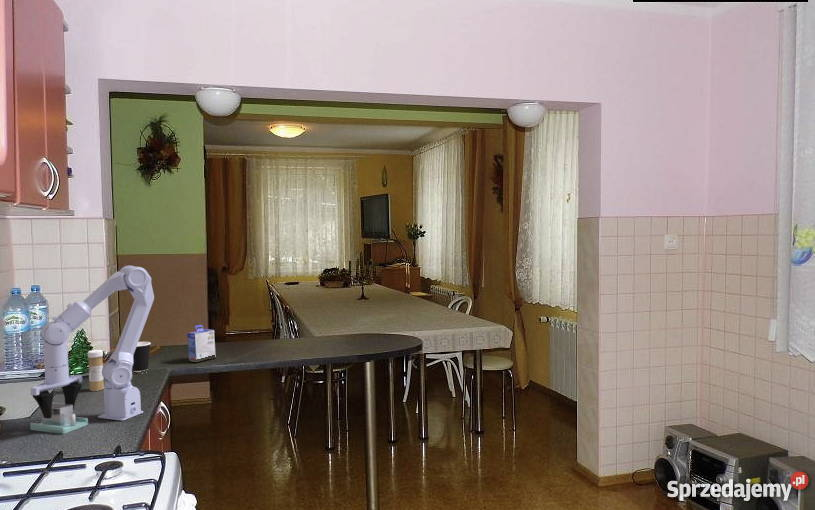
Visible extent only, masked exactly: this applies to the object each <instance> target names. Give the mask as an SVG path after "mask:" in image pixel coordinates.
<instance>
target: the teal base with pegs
mask: <svg viewBox="0 0 815 510" xmlns="http://www.w3.org/2000/svg"><path fill="white" fill-rule="evenodd" d="M70 420H71V424H68V425H65V426H62V427H61V426H53V425H46V424H42V421H40V422H38V423H36V422H30V425H29V426H30V430H32V431H37V432H44V433H51V434H52V433H53V434H60V435H64V434H67V433H70V432H72V431H75V430H77V429H80V428H82V427H86V426H88V425H89V419H88V417H82V416H81V417H79V416H76V413H73V414H71V415H70Z"/></svg>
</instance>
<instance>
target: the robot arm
mask: <svg viewBox="0 0 815 510" xmlns="http://www.w3.org/2000/svg"><path fill="white" fill-rule="evenodd" d="M124 290H128V292H129V293H130V294H131V296H132V298H133V300H134V301H133V303H132V306H131V308H130V311H129V313H128V316H127V319H126V321H125V324H124V326H123V329H122V332H121V334H120V336H119V340H118V343H117V345H116V348H115V349H114V351H113V353H112V354H111V355H110V358H109V359H108V361H107V362H106V363H105V364H103V369H102V375H103V377H104V379H105V381H104V389H103V394H104V395H103V399H104V413H103V414H100V415H98V416H97V418H98V419H104V420H105V419H106V420H112V421H113V420H114V421H125V420H129V419H131V418H133V417H135V416H139V415H141V414H143V413H144V411H143V410H142V404H141V402H142V401H141V392H140V390H139V388H138V387H136V386H133V384H132V381H131V380H132V379H133V368H132V366H133V355H134V352H135V349H136V347H137V344H138V342H140V338H141V335H142V333H143V330H144V327H145V325H146V322H147V319H148V317H149V313H150V311H151V308H152V306H153V303H154V300H155V293H154V289H153V286H152V277H151V276H150V274H149V272H148V271H147V270H146V268H143V267H141V266H134V265H125V266H123V267H121V268H120V270H118V271H116V272H114V273H113V274H112V275H111V276H109V277H108V278H107V279H106V280H105V281H104V282H103V283H102V284H100V285H99V286H98V287H97V288H96V289H95V290H94V291H93V292H92V293H91V294H90V295H88V296H87V297H86V298H85V299H84V300H83V301H74V302H73V303H68V304H67V305H66V307H67V308H66V309H65V310H63V312H61V313H60V314H58V316H54V317H52V321H51V322H47V323H46V324H44V326H43V327H42V329H41V332H40V336H41V338H42V339H43V348H44V349H43V366H44V367H43V368H44V381H43V382H42V383H40V384H37V385H35V386H33V387H30V395H31V396H32V398H33V399H34V400H35V401H36V403H37V405H38V406H39V409H40V411H41V415H42V414H43V417H44V418H48V419H49V418H51V417H52V403H53V400H54V396H55V394H54V393H50V391H53V390H57V389H60V388H61V390H62V392H63V398H64V404H71V405H73V411H74V410H75V405H76V401H77V397H78V396H79V394H80V391H81V389H82V382H83V375H82V374H75V375H70V372H69V352H68V351H69V350H68V346H67V345H68V343H67V340H68V339H69V336H70V333H73V332H74V331H75V330H77V329H78V328H79V327H80V326H81V325H83V323H85V322H86V321H87V320H88V319H89V318H91V316H92V310H93V309H94V308H96V307H97V306H98V305H100V304H101V303H102V302H103V301H104V300H106V299H107V298H108V297H109V296H111V295H112V294H113V293H115V292H118V291H124Z"/></svg>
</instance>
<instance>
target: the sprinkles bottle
mask: <svg viewBox="0 0 815 510" xmlns="http://www.w3.org/2000/svg"><path fill="white" fill-rule="evenodd" d="M103 356H104V353H103V349H92V350H89V351H87V358H88V380H89V391H91V392H96V391H97V392H98V391H103V390H104V384H105V382H104V379H105V378H104V377H103V375H102V369H103V367H104V362H103V361H104V360H103Z"/></svg>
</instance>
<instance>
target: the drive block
mask: <svg viewBox="0 0 815 510" xmlns="http://www.w3.org/2000/svg"><path fill="white" fill-rule="evenodd" d="M71 414H74V410H73V405H71V404H65V403H61V402H52V417H51V418H49V419H48V418H44V417H43V414H42V413H41V422H42V424H46V425H53V426H61V427H62V426H65V425H68V424H71V420H70V415H71Z"/></svg>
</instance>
